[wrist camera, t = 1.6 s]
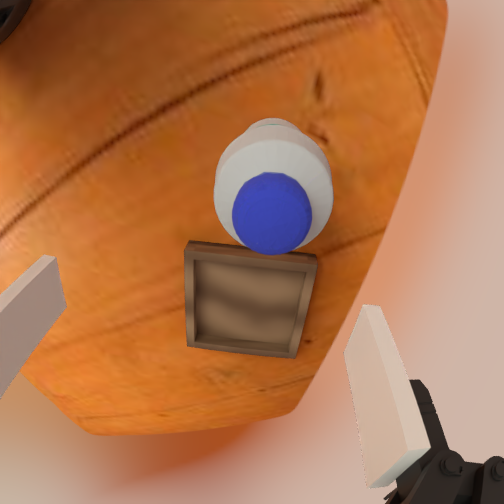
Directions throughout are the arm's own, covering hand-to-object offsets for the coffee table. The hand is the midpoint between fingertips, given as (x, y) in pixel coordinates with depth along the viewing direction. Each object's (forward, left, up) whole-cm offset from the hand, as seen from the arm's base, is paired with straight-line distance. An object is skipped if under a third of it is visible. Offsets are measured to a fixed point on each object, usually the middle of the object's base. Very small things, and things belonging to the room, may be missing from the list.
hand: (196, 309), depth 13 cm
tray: (+15, +2, -22) cm, 26 cm away
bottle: (-3, +3, -22) cm, 22 cm away
